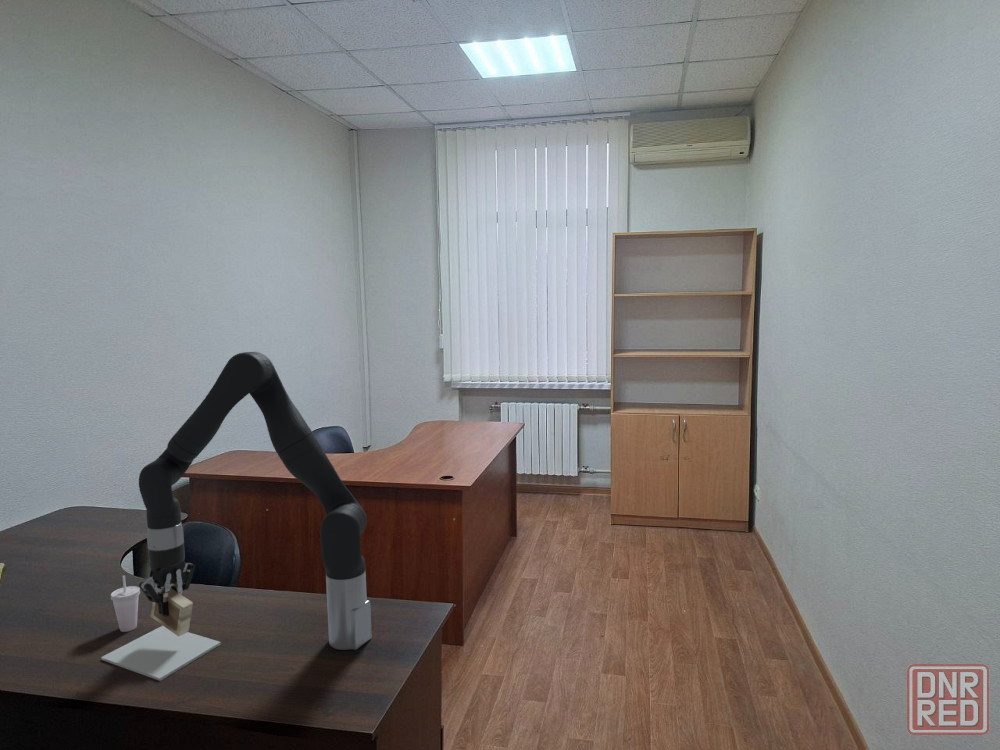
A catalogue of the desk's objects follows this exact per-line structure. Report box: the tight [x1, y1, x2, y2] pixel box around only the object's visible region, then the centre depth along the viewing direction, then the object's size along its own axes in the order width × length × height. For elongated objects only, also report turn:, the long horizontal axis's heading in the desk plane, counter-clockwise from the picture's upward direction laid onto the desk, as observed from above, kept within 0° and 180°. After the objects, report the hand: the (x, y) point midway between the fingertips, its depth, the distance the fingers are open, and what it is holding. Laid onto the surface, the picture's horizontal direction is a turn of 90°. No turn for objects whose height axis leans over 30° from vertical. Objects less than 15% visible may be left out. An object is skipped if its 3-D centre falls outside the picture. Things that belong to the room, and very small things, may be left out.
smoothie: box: [110, 574, 141, 633], centre depth 158 cm, size 6×6×14 cm
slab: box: [150, 587, 194, 637], centre depth 149 cm, size 10×3×8 cm, turn 65°
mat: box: [100, 625, 222, 682], centre depth 147 cm, size 20×16×1 cm
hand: (170, 612), depth 149 cm, fingers closed on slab, 2 cm apart
